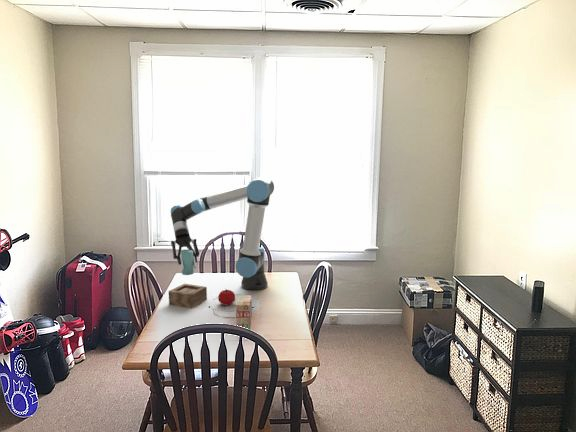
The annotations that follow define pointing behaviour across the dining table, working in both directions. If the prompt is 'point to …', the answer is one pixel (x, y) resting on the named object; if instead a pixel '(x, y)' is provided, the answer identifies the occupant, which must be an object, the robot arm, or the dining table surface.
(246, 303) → the printed cardboard box
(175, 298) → the wooden box
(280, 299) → the dining table surface
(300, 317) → the dining table surface
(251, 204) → the robot arm
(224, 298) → the tomato
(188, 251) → the teal round block
